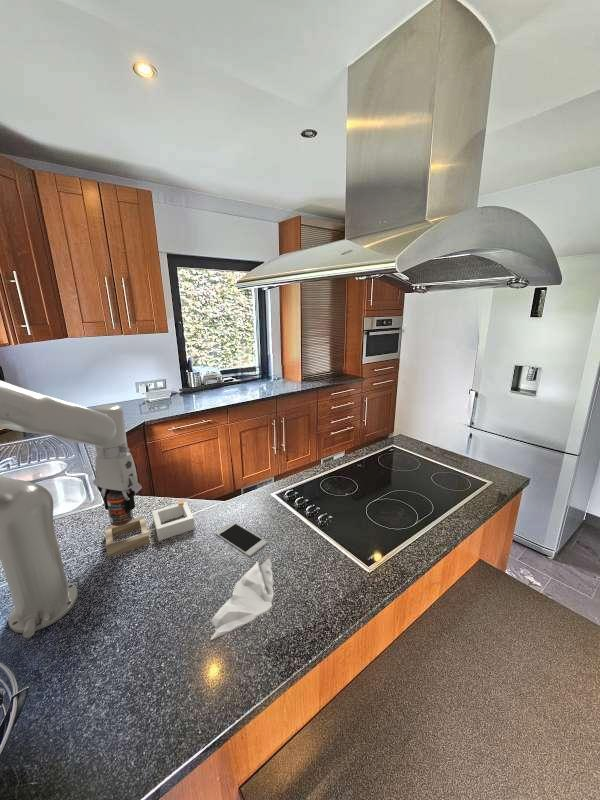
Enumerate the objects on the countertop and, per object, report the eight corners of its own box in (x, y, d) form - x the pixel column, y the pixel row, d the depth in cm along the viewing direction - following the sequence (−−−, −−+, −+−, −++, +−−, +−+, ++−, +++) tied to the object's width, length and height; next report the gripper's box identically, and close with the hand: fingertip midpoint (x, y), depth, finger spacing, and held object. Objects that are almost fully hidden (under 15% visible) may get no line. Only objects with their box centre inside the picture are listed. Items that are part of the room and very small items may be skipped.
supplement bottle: (110, 529, 90) (105, 492, 87) (109, 519, 95) (104, 483, 92) (134, 522, 93) (129, 486, 91) (132, 512, 98) (127, 478, 95)
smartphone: (249, 558, 90) (249, 555, 90) (215, 535, 99) (214, 532, 99) (267, 544, 95) (267, 541, 95) (233, 523, 104) (233, 521, 104)
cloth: (227, 660, 64) (226, 651, 63) (184, 622, 71) (183, 614, 71) (303, 575, 84) (303, 568, 84) (263, 553, 92) (263, 546, 91)
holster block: (149, 543, 95) (148, 535, 94) (108, 557, 90) (106, 548, 89) (145, 524, 104) (144, 516, 103) (107, 535, 99) (105, 527, 98)
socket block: (194, 528, 101) (193, 516, 100) (158, 541, 96) (156, 527, 95) (187, 511, 110) (185, 499, 109) (153, 521, 105) (151, 509, 104)
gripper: (148, 447, 90) (155, 505, 95) (97, 442, 94) (106, 498, 99) (128, 458, 83) (136, 520, 88) (74, 452, 87) (84, 511, 92)
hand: (120, 508), depth 93 cm, fingers closed on supplement bottle, 6 cm apart
